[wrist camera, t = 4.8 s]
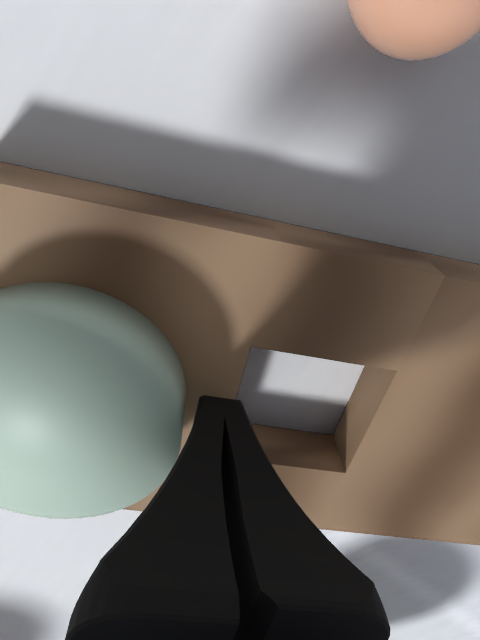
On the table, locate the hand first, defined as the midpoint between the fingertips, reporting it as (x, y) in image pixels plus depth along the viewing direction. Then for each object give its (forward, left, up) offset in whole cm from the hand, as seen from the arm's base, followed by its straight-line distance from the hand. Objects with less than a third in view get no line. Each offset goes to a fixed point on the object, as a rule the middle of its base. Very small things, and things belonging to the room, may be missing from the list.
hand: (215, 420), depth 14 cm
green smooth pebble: (+5, 0, -1) cm, 5 cm away
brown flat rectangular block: (-3, 0, -3) cm, 4 cm away
